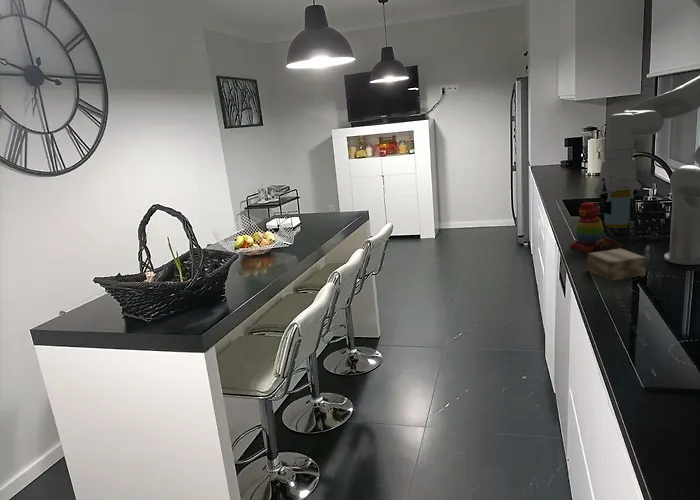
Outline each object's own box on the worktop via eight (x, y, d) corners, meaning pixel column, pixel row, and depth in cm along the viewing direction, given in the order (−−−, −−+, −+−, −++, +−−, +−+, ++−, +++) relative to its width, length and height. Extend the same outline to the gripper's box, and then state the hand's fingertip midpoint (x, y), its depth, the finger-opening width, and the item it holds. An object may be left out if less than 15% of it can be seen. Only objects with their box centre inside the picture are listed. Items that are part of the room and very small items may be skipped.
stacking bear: (567, 247, 203) (567, 202, 199) (588, 243, 206) (588, 198, 202) (589, 253, 193) (589, 206, 189) (610, 248, 197) (611, 201, 192)
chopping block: (620, 265, 177) (621, 248, 176) (645, 275, 166) (646, 257, 164) (587, 270, 176) (587, 253, 174) (610, 281, 164) (610, 262, 163)
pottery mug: (590, 253, 195) (602, 234, 193) (614, 266, 191) (627, 246, 189) (586, 254, 184) (599, 234, 182) (613, 268, 180) (626, 247, 178)
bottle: (631, 228, 163) (634, 179, 159) (607, 228, 164) (609, 181, 160) (625, 223, 169) (627, 176, 165) (601, 224, 171) (603, 178, 167)
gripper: (636, 151, 166) (634, 207, 170) (586, 157, 164) (584, 213, 168) (653, 152, 159) (650, 211, 163) (600, 158, 156) (599, 217, 161)
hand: (617, 211), depth 166 cm, fingers closed on bottle, 6 cm apart
